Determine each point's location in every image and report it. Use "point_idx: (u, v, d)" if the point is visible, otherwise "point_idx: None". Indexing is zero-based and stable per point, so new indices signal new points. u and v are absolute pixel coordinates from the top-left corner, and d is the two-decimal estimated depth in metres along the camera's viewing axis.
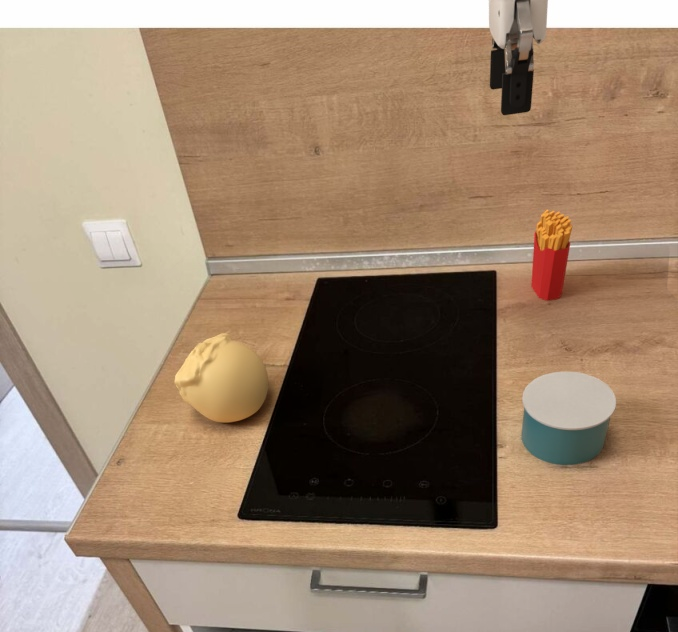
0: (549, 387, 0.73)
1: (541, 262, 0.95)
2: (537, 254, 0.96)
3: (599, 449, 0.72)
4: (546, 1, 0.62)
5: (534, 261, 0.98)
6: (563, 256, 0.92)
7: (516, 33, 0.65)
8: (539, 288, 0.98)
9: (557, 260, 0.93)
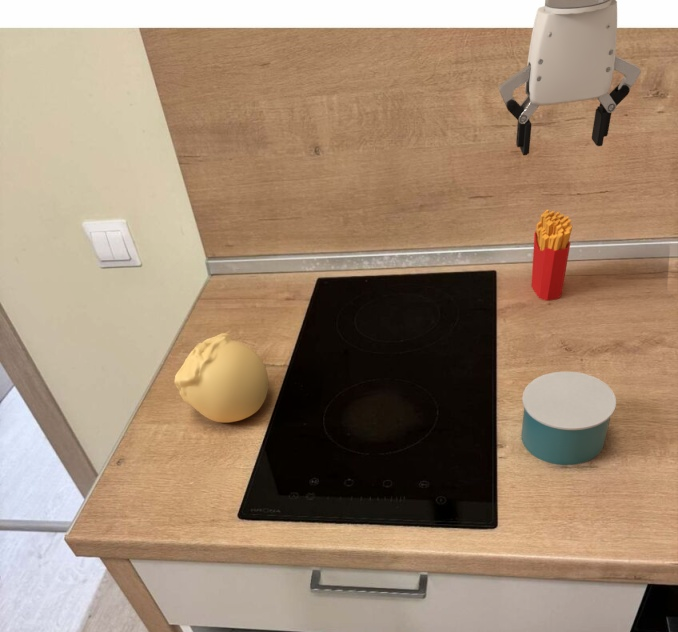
0: (549, 387, 0.73)
1: (541, 262, 0.95)
2: (537, 254, 0.96)
3: (599, 449, 0.72)
4: None
5: (534, 261, 0.98)
6: (563, 256, 0.92)
7: None
8: (539, 288, 0.98)
9: (557, 260, 0.93)
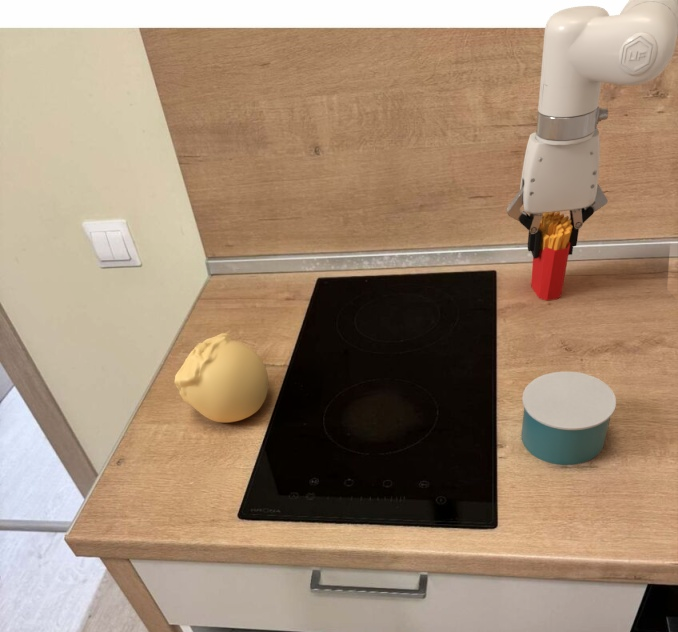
0: (549, 387, 0.73)
1: (541, 262, 0.95)
2: None
3: (599, 449, 0.72)
4: None
5: (534, 261, 0.98)
6: (563, 256, 0.92)
7: None
8: (539, 288, 0.98)
9: (557, 260, 0.93)
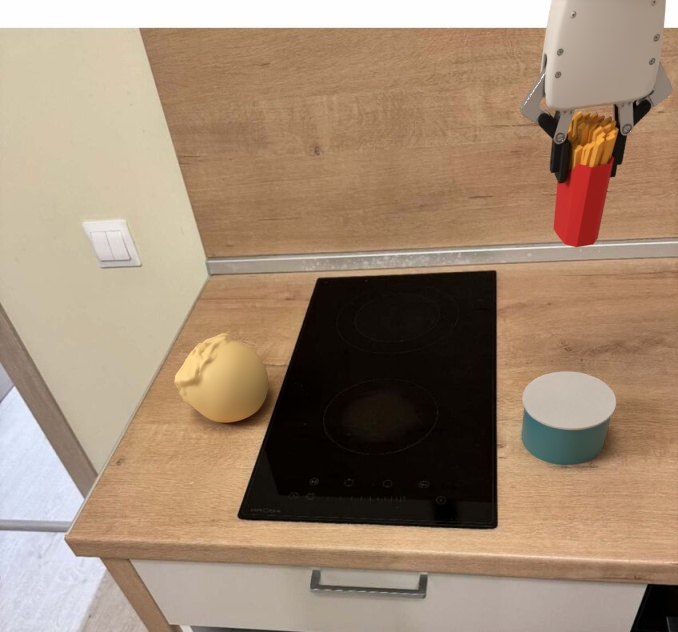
0: (549, 387, 0.73)
1: (570, 189, 0.65)
2: None
3: (599, 449, 0.72)
4: None
5: (559, 190, 0.68)
6: (603, 177, 0.62)
7: None
8: (565, 229, 0.68)
9: (594, 183, 0.63)
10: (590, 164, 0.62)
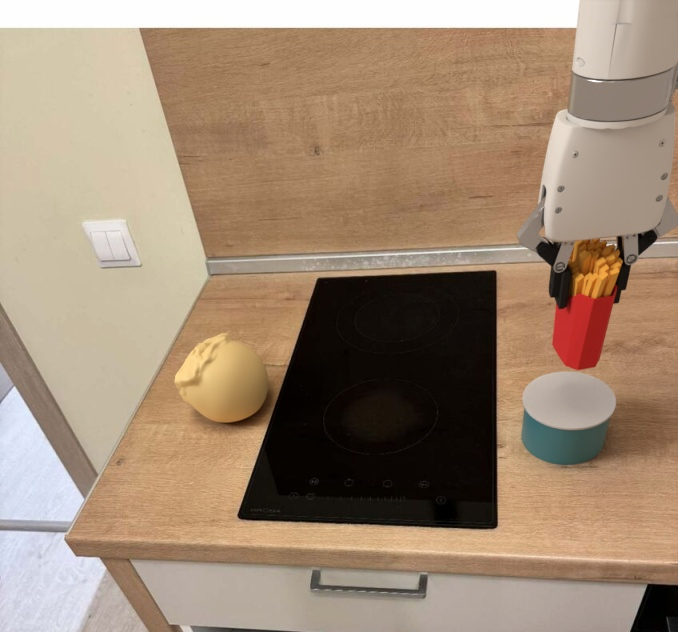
0: (549, 387, 0.73)
1: (571, 315, 0.61)
2: None
3: (599, 449, 0.72)
4: None
5: (558, 310, 0.64)
6: (606, 307, 0.58)
7: None
8: (565, 351, 0.64)
9: (596, 313, 0.59)
10: (592, 295, 0.58)
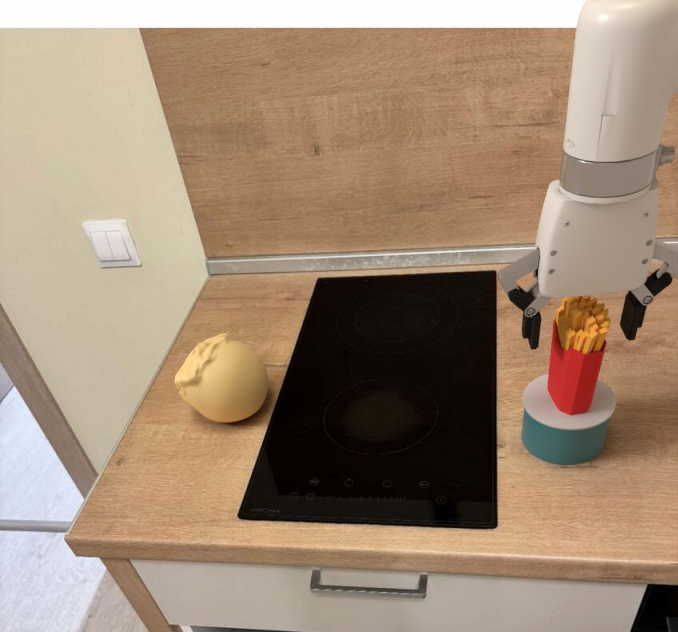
0: None
1: (564, 366, 0.66)
2: (556, 352, 0.67)
3: (599, 449, 0.72)
4: None
5: (552, 359, 0.69)
6: (596, 361, 0.63)
7: None
8: (559, 398, 0.69)
9: (587, 366, 0.63)
10: (583, 350, 0.62)
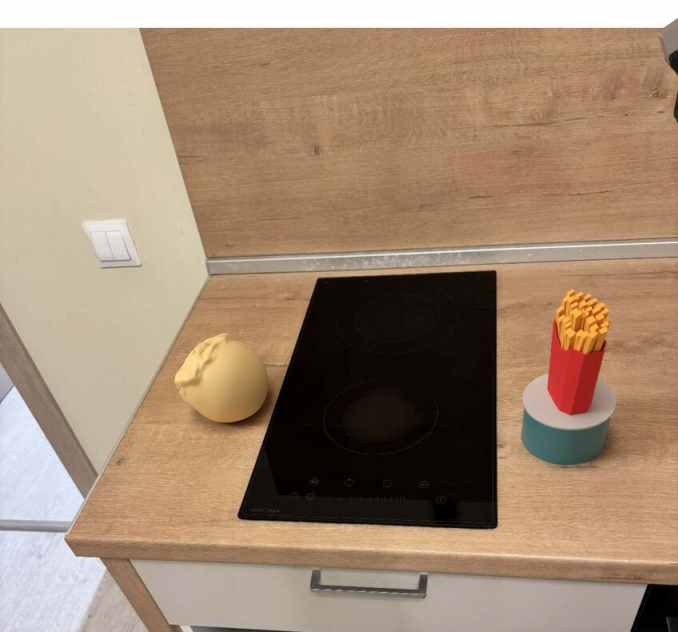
0: None
1: (564, 366, 0.66)
2: (556, 352, 0.67)
3: (599, 449, 0.72)
4: None
5: (552, 359, 0.69)
6: (596, 361, 0.63)
7: None
8: (559, 398, 0.69)
9: (587, 366, 0.63)
10: (583, 350, 0.62)
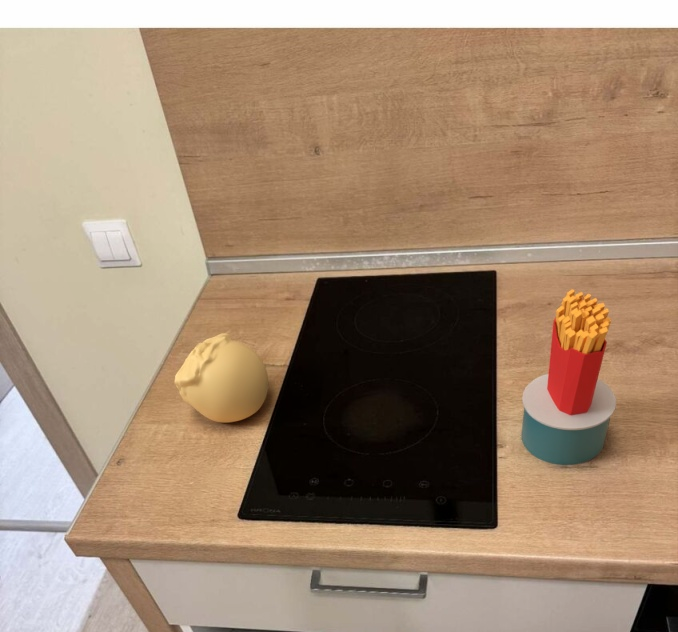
0: None
1: (564, 366, 0.66)
2: (556, 352, 0.67)
3: (599, 449, 0.72)
4: None
5: (552, 359, 0.69)
6: (596, 361, 0.63)
7: None
8: (559, 398, 0.69)
9: (587, 366, 0.63)
10: (583, 350, 0.62)
